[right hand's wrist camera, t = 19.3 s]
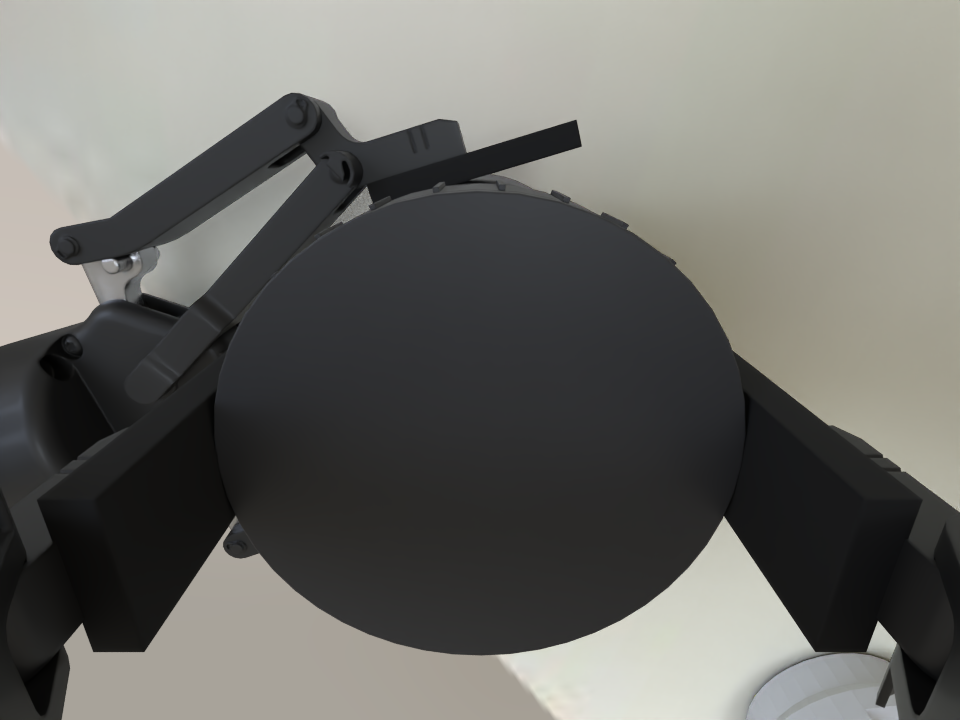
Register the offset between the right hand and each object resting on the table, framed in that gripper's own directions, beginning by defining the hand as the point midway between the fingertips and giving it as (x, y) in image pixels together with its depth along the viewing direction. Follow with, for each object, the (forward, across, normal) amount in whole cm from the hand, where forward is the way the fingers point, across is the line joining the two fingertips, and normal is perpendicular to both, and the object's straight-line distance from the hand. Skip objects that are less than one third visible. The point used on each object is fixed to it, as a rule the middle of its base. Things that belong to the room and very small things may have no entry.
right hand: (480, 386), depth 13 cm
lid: (-3, 0, 0) cm, 3 cm away
